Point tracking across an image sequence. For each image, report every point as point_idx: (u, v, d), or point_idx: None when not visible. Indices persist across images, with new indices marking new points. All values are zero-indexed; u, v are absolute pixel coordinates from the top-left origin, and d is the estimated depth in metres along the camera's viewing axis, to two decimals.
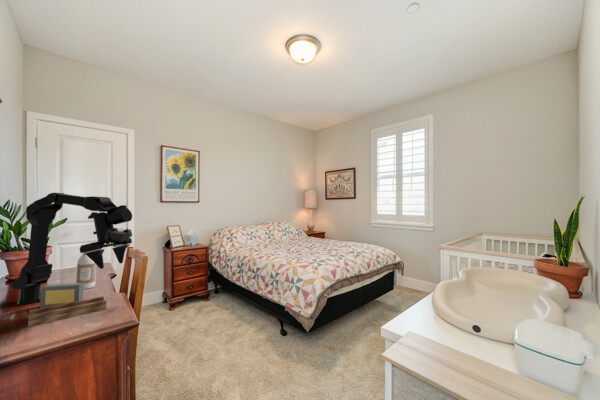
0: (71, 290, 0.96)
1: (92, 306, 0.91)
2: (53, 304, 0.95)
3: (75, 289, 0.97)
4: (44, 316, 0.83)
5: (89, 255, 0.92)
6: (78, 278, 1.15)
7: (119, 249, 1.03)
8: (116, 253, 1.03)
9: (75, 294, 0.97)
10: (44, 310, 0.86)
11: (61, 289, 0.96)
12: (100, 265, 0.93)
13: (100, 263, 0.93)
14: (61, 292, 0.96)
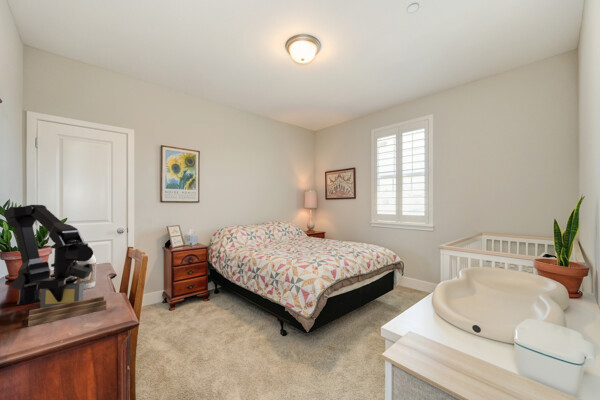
0: (71, 290, 0.96)
1: (92, 306, 0.91)
2: (53, 304, 0.95)
3: (75, 288, 0.97)
4: (44, 316, 0.83)
5: (50, 288, 0.93)
6: None
7: (66, 283, 0.99)
8: None
9: (75, 294, 0.97)
10: (44, 310, 0.86)
11: None
12: (59, 298, 0.95)
13: (60, 297, 0.95)
14: None
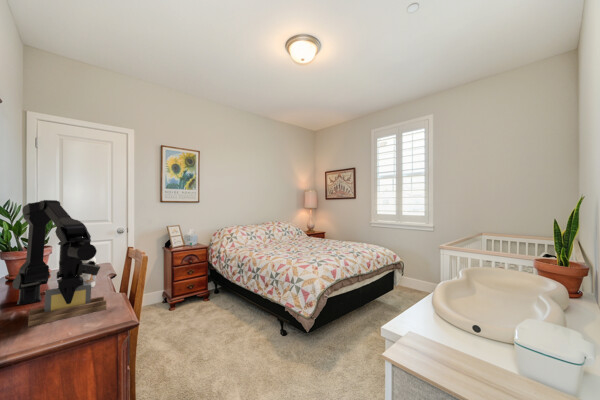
0: (82, 291, 0.91)
1: (92, 306, 0.91)
2: None
3: (87, 289, 0.92)
4: (44, 316, 0.83)
5: (62, 289, 0.85)
6: None
7: None
8: None
9: (86, 295, 0.92)
10: None
11: None
12: (69, 300, 0.87)
13: (71, 298, 0.87)
14: None
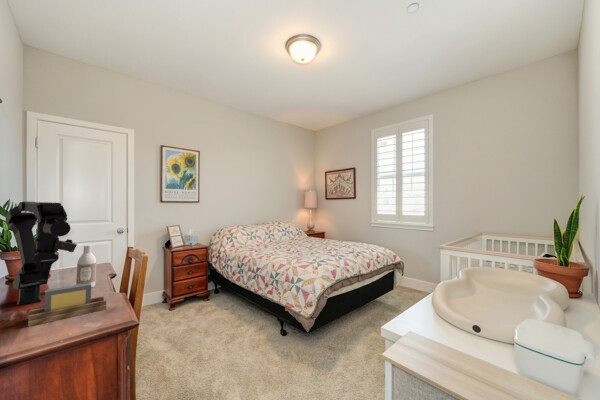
0: (82, 291, 0.91)
1: (92, 306, 0.91)
2: None
3: (87, 289, 0.92)
4: (44, 316, 0.83)
5: (38, 263, 0.89)
6: (78, 278, 1.15)
7: None
8: None
9: (86, 295, 0.92)
10: None
11: (70, 291, 0.89)
12: (46, 274, 0.91)
13: (47, 272, 0.92)
14: (71, 295, 0.89)
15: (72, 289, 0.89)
